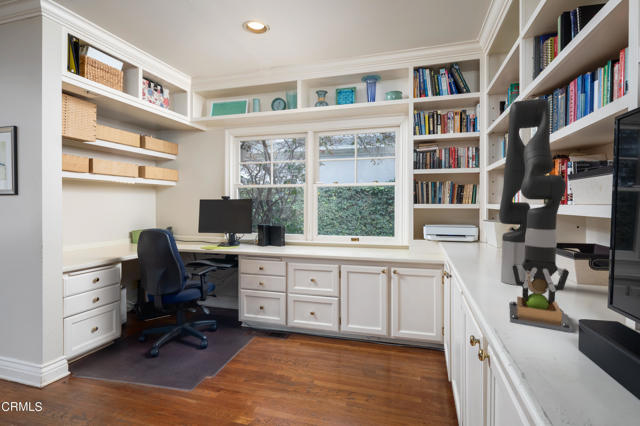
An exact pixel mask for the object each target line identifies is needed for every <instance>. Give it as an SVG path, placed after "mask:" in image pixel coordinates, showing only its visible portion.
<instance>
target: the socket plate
mask: <svg viewBox="0 0 640 426" xmlns="http://www.w3.org/2000/svg"><path fill="white" fill-rule="evenodd" d="M516 297H517V298H516V301H509V304H508V308H509V309H508V310H510V311H509V323H513V324H519V323H520V325H525V324H526V325H525V326H533V327H537V328H542V329H543V328H544V329H549V330H550V329H551V330H556V331H560V332H565V333H566V332H567V333H573V327H572V325H571V323H570V322H569V320H568V318H567V315H566V314H565V312H564V310H563V309H562V308H560V306H559V304H558V303H557V301H554V302H552V304H549V305H548V308H547V309H546V310H544V309H538V308H531V307H528V305H527V302H526V301H525V298H523V296H516Z"/></svg>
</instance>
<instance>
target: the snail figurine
mask: <svg viewBox="0 0 640 426" xmlns="http://www.w3.org/2000/svg"><path fill="white" fill-rule="evenodd" d="M526 272H528V275H527V276H526V278H527V277H528V279H529V281H527V283H528V289H529V290H528V291H530V292H531V293H530V294H528V301H526V302H527V305H528V307H531V308H538V309H544V310H546V309H547V308H548V305H549V302H548V297H546V295H544V294H546V293H547V292H548V289H549V286H548V283H547V280H542V279H532V280H531V281H530V279H531V276H529V273H530V271H526Z"/></svg>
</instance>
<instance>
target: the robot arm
mask: <svg viewBox="0 0 640 426" xmlns="http://www.w3.org/2000/svg"><path fill="white" fill-rule="evenodd" d="M508 112H509V113H508V127H507V128H508V130H507V131H508V133H507V146H506V147H507V150H506V155H505V157H506V158H505V160H504V161H505V162H504V170H503V171H504V172H503V187H502V195H501V199H500V206H499V212H498V219H499V222H500V223H501V224H503V225H516V226H518V227H517V228H516V229H514V230H512V231H508V232H504V233H503V234H502V237H501V240H502V241H501V243H502V244H501V264H500V265H501V267H500V281H501V282H502V283H504V284H508V285H514V286H516V285H517V286H520V287H522V290H521V291H522V295H521V297H523V298H525V301H528V296H529V291H530V290H529V287H528V283H527V281H529V279H528V277H527V278H526V276H527V275H528V272H526V271H530V273H529V276H531V279H530V281H531V280H532V281H533V279H542V280H547V283H548V289H547V292H548V293H547V296H548V297H547V300H548V302H549V304H552V302H556V301H555V300H556V292H557V291H563V290H564V289H565V286H566V283H567V280H568V277H569V274H570V271H569V270H568V269H567V268H561V267H558V266H557V264H556V263H557V262H556V260H557V259H556V258H557V244H558V242H557V239H558V238H557V237H558V235H557V216H558V211H559V208H560V205H561V203H562V200H563V198H564V195H565V192H566V189H567V182H566V179H564V177H563V176H561V175H559V174H551V172H552V171H553V169H554V161H553V160H554V159H553V156H552V151H551V144H550V143H551V142H550V140H551V139H550V136H551V125H550V122H551V121H550V117H551V116H550V106H549V103H548V101H547V99H545V98H534V99H527V100H526V99H525V100H523V99H522V100H517V101H513V102H512V103H511V104H510V107H509V111H508ZM530 128H537V129H536V131H535V133H534V134H533V136H532V137H531V138H530V139H529V140H528V142H527V143H526V145H525V144H524V142H523V140H522V138H521V136H520V130H521V129H530ZM519 192H521V195H522V196H523V197H524V198H525V199H527V200H539V201H541V200H547V202H546V204H545V205H542V206H539V207H534V208H533V207H532V208H531V205H530V203H528V202H525V201H524V202H522V201H521V202H517V201H513V199H514V197H515V196H516V195H517V194H518V193H519ZM557 272H558V273H557ZM555 273H557V274H558V276H560V277H559V279H558V281H557V284H554V282H553V279H552V276H553V275H555Z"/></svg>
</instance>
